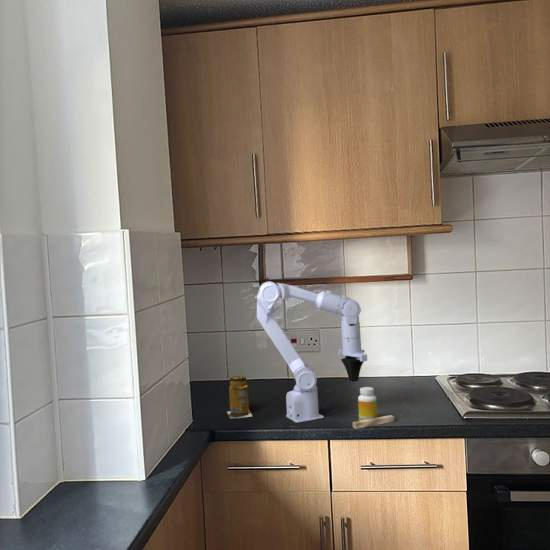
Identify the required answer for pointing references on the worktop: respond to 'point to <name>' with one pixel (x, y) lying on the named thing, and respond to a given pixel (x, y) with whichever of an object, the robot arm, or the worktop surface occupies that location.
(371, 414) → the supplement bottle
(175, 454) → the worktop surface
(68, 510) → the worktop surface
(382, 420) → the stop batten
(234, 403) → the condiment
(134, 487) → the worktop surface
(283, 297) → the robot arm
